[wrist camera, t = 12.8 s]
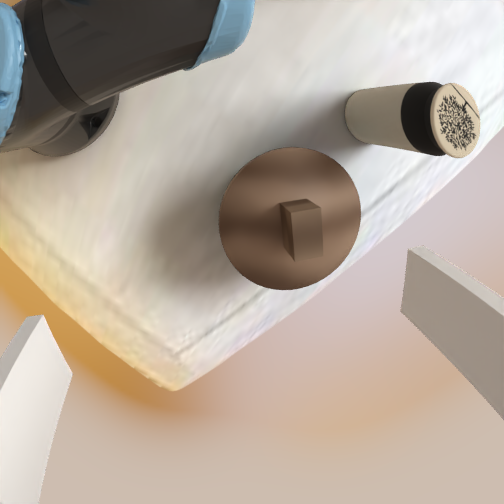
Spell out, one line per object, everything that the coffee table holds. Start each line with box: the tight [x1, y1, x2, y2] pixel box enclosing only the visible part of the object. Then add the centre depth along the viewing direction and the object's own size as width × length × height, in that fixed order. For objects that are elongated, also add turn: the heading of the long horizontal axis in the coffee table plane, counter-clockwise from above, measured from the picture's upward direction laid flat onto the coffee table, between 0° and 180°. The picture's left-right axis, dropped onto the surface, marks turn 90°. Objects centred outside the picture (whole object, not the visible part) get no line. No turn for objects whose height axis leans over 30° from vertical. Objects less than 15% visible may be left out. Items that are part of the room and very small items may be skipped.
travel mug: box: [345, 82, 480, 158], centre depth 32 cm, size 8×8×18 cm
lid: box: [219, 147, 361, 290], centre depth 33 cm, size 16×16×5 cm
